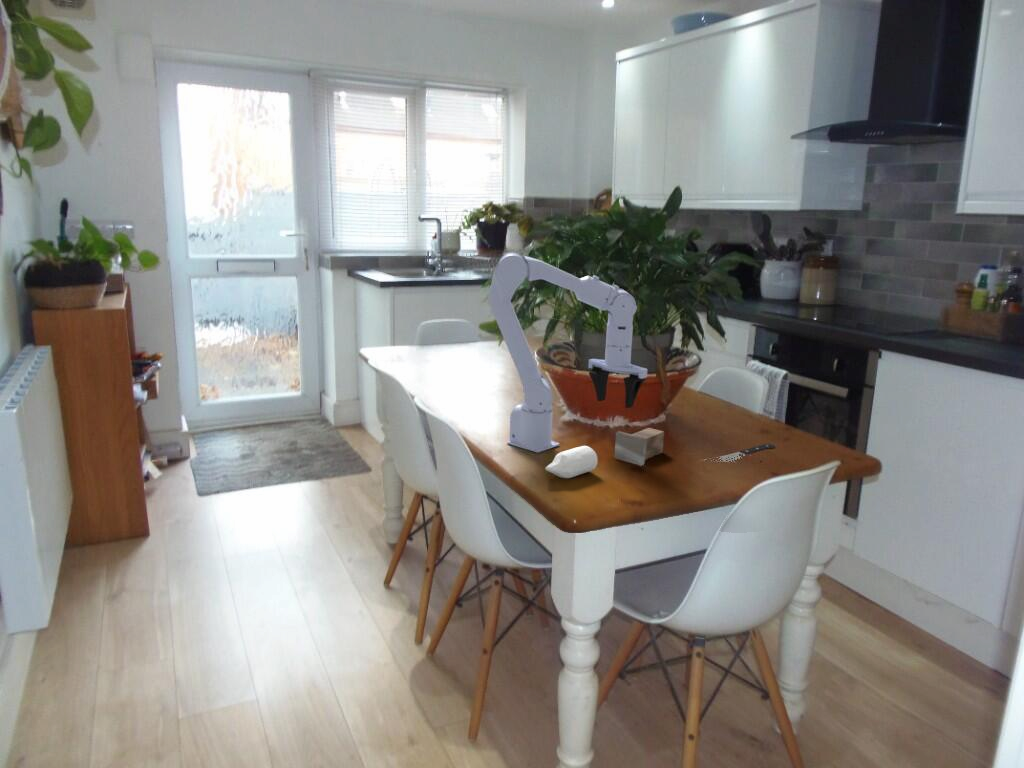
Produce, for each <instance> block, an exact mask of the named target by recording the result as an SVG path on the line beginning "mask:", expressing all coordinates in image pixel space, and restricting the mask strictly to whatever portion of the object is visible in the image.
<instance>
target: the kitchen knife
mask: <svg viewBox="0 0 1024 768" xmlns="http://www.w3.org/2000/svg"><path fill="white" fill-rule="evenodd" d="M775 448H776V446H775V445H774V444H772V443H771V444H770V443H765V444H760V445H757V446H754V447H753V446H752V447H750V448H747V449H743V450H739V451H737V452H733V453H730V454H726V455H720V456H717V457H716V458H718V457H720V458H719V459H721V458H722V459H721V460H723V461H721V460H720V461H719V462H726V463H736V462H735V461H734V459H735V460H737V458H738V459H740V457H741V456H739V454H741V455H742V454H743V456H745V454H748V455H750V453H751V454H753V452H754V453H757V452H756V451H758V452H760V450H761V451H765V450H764V449H766V450H774V449H775ZM737 456H738V457H737ZM728 457H729V458H728ZM734 457H735V458H734ZM726 458H727V459H726ZM731 458H733V459H731ZM741 458H742V457H741ZM707 459H708V458H706V459H701V460H700V461H703V460H704V462H705V460H707ZM709 459H711V458H709ZM719 459H718V460H719ZM729 459H730V460H729ZM713 460H714V459H713ZM726 460H728V461H726ZM732 460H733V461H734V462H732ZM729 461H731V462H729ZM710 462H713V461H712V460H711V461H710ZM715 462H718V461H717V460H716V461H715Z"/></svg>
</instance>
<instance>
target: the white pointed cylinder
mask: <svg viewBox="0 0 1024 768" xmlns="http://www.w3.org/2000/svg"><path fill="white" fill-rule="evenodd" d="M597 465H598V455H597V452H596V451H595V450H594V449H593V448H591V446H587V445H581V446H578V447H577V446H576V447H573V448H570V449H566V450H564V451H561V452H558V453H557V454H556V455H555V456H554V459H553V460H552V462H551V463H548V465H547V466H546V467H545V468H544V469H545V470H546V471H547V472H550V473H552V474H553V475H556V476H557V477H559V478H562V479H571V478H574V477H577V476H580V475H583V474H585V473H588V472H591V471H593V470H595V469H596V467H597Z"/></svg>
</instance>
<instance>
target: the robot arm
mask: <svg viewBox="0 0 1024 768" xmlns="http://www.w3.org/2000/svg"><path fill="white" fill-rule="evenodd" d="M523 256H524V257H523ZM523 256H522V255H521V254H519V253H518V252H512V251H511V252H507V253H505V254H504V255H502V256H501V257H500V259H499V260H498V262H497V264H496V266H495V267H494V269H493V275H492V278H491V283H490V287H489V292H488V293H489V294H488V298H487V299H488V304H489V306H490V309H491V312H492V313H493V316H494V318H495V321H496V323H497V326H498V328H499V331H500V333H501V336H502V337H503V340H504V342H505V344H506V347H507V350H508V352H509V355H510V356H511V359H512V361H513V364H514V367H515V368H516V371H517V373H518V376H519V379H520V383H521V385H522V388H523V389H522V390H523V392H522V393H523V394H524V396H523V398H524V399H523V400H524V401H523V403H519V404H517V405H515V406H514V407H513V408H512V411H511V413H510V417H509V418H510V419H509V440H507V441H506V443H507V444H508V445H512V446H514V447H518V448H522V449H525V450H528V451H530V452H534V453H541V452H544V451H547V450H549V449H552V448H555V447H558V446H560V442H558V441H557V442H556V441H553V440H552V438H553V437H552V436H553V413H554V412H553V411H554V405H552V403H553V400H554V399H553V398H554V397H553V392H552V390H551V384H550V382H549V381H548V379H547V378H546V377H545V376H544V375H543V374H542V373H541V371H540V367H539V366H538V365H537V362H536V360H535V357H534V355H533V353H532V350H531V347H530V345H529V343H528V341H527V338H526V336H525V333H524V330H523V328H522V325H521V323H520V321H519V318H518V316H517V313H516V312H515V308H514V306H513V303H512V302H511V301H512V299H513V297H514V294H515V292H516V290H517V288H518V287H519V286H520V285H521V284H522V283H523V282H524V281H525V280H526V278H527V279H528V281H529V282H532V281H537V280H544V281H546V282H549V283H551V284H552V285H557V286H558V287H561V288H563V289H566V290H569V291H571V292H573V293H574V294H575V297H576V300H577V301H579V302H582V303H584V304H586V305H589V306H591V307H594V308H595V309H599V310H601V311H604V312H605V311H608V315H607V324H606V333H605V334H606V336H605V337H606V338H605V350H604V351H605V352H604V353H605V354H604V359H601V358H600V359H599V358H591V359H590V358H589V359H588V367H587V368H588V369H591V370H589V371H588V375H589V377H590V379H591V380H592V383H593V386H594V390H595V393H596V399H597V401H598V402H603V401H606V400H605V399H606V395H607V384H608V379H609V377H610V372H612V373H617V374H621V375H625V376H626V375H627V376H626V377H624V378H623V383H624V388H625V389H624V390H625V391H624V392H625V396H624V397H625V398H624V399H625V401H624V402H625V403H624V406H625V408H626V409H629V408H630V409H631V408H634V404H635V401H636V398H637V395H638V393H639V391H640V389H641V386H643V384H644V382H645V381H646V378H647V377H648V368H646V367H641V366H638V365H635V364H632V363H631V361H632V360H631V359H632V347H633V346H632V345H633V330H634V324H633V321H634V315H635V314H636V313H637V310H638V306H637V303H636V299H635V298H634V296H633V295H632V294H630V293H629V292H627V291H626V290H624V289H623V288H620V286H619V285H617V284H614V285H611V284H608V283H607V282H604V281H601V280H600V277H599V276H597V275H593V276H590V275H586V276H584V277H583V276H582V277H580V278H579V277H577V276H575V275H573V274H571V273H570V272H567V271H564V270H562V269H561V268H558V267H556V266H553V265H552V264H549V263H548V262H545V261H543V260H540V259H538V258H534V257H530V256H526V255H523Z"/></svg>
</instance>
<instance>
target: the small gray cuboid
mask: <svg viewBox="0 0 1024 768" xmlns="http://www.w3.org/2000/svg"><path fill="white" fill-rule="evenodd" d="M664 439H665V431H663V430H659V429H654V428H652V427H647V428H645V429H642V430H640V431H637V432H634V433H627V432H624V431H621V430H618V431H616V432H615V443H614V444H615V445H614V457H613V458H614V459H616V460H619V461H622V462H623V461H624V462H627V463H630V464H633V465H636V464H637V465H636V466H640V467H643V466H645V465H644V464H645V462H646V461H647V460H649V459H650V458H653V457H655V455H656V456H658V455H660V454H663V452H664ZM648 458H649V459H648ZM642 465H643V466H642Z"/></svg>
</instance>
